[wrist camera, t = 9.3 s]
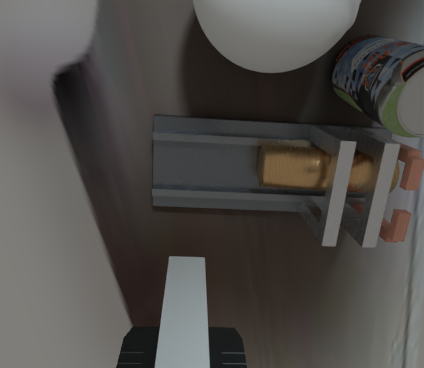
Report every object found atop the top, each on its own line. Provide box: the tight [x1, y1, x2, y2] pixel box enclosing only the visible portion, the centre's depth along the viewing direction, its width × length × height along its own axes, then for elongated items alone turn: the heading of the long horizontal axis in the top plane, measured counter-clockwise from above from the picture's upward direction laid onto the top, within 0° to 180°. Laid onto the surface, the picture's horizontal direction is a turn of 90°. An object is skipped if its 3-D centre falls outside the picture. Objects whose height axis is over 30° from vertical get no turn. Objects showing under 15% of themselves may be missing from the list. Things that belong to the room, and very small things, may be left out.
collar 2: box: [340, 127, 400, 248], centre depth 32 cm, size 9×1×7 cm, turn 176°
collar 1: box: [298, 125, 356, 246], centre depth 32 cm, size 9×1×7 cm, turn 176°
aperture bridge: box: [352, 134, 424, 242], centre depth 32 cm, size 8×1×8 cm, turn 176°
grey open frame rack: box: [152, 114, 393, 212], centre depth 35 cm, size 9×23×2 cm, turn 86°
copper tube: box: [257, 144, 399, 193], centre depth 33 cm, size 12×4×4 cm, turn 86°
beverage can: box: [331, 35, 424, 137], centre depth 28 cm, size 6×7×12 cm
